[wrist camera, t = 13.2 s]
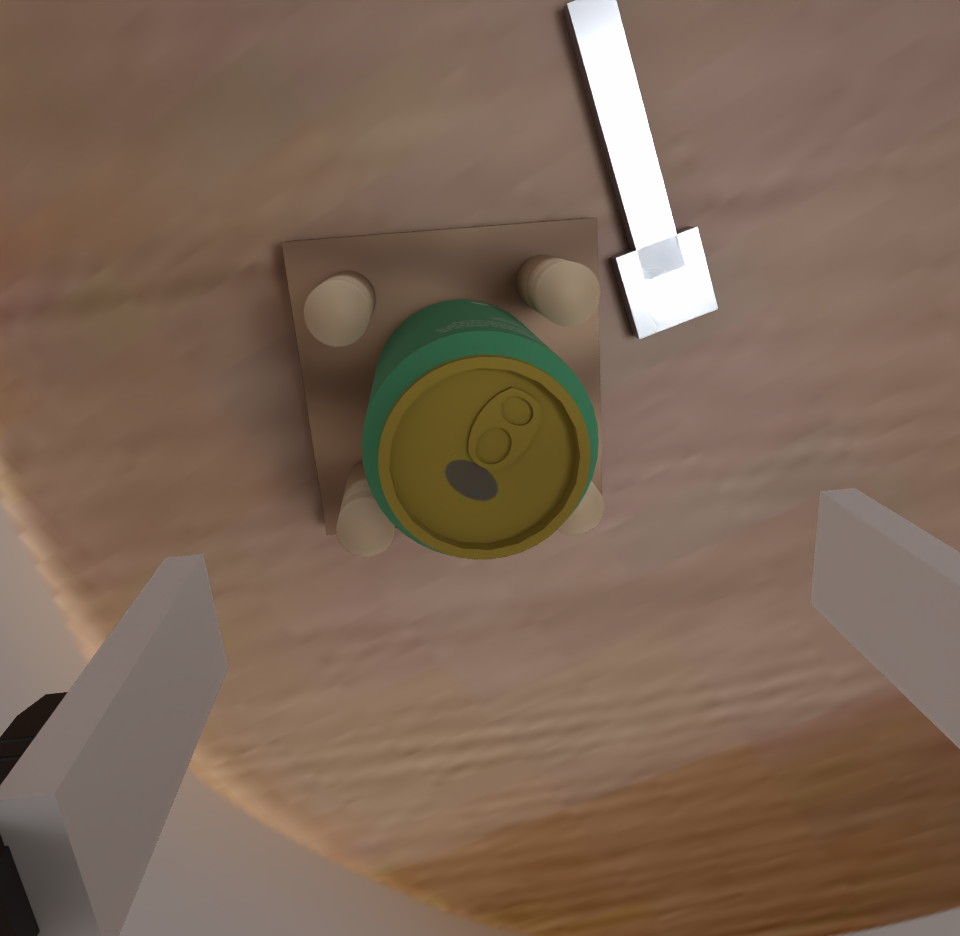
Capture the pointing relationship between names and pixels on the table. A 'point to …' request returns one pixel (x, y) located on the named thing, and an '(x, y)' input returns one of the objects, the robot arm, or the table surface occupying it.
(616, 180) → the grey square paddle
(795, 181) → the table surface
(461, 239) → the peg board
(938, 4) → the table surface
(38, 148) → the table surface
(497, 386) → the beverage can
